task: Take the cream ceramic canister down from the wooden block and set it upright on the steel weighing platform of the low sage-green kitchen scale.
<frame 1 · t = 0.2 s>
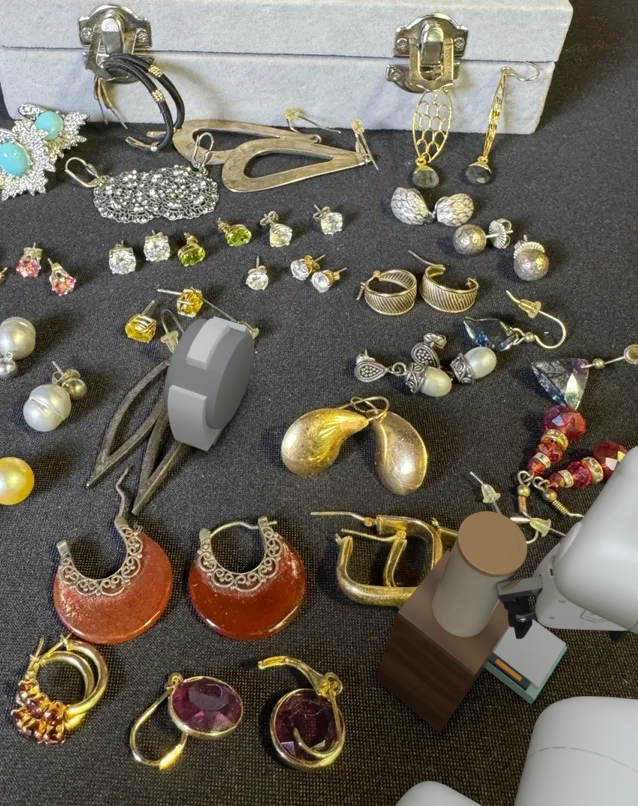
hand: (563, 626, 83), 28 cm above the table, tool pointing down, fingers open, 9 cm apart
wooden block: (428, 675, 106), on the table
scale: (517, 655, 108), on the table
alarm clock: (213, 416, 134), on the table
canister: (460, 608, 90), point 22 cm above the table, touching wooden block
beverage bottle: (573, 578, 115), on the table
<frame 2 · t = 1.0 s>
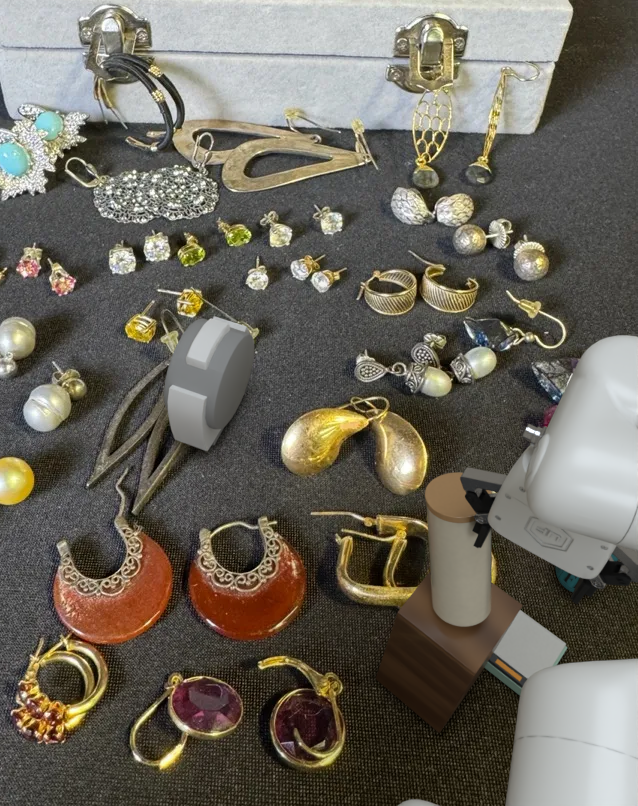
hand: (529, 562, 77), 38 cm above the table, tool pointing down, fingers open, 9 cm apart
canister: (461, 602, 89), point 23 cm above the table, tilted 20°, touching wooden block
everything else where it was.
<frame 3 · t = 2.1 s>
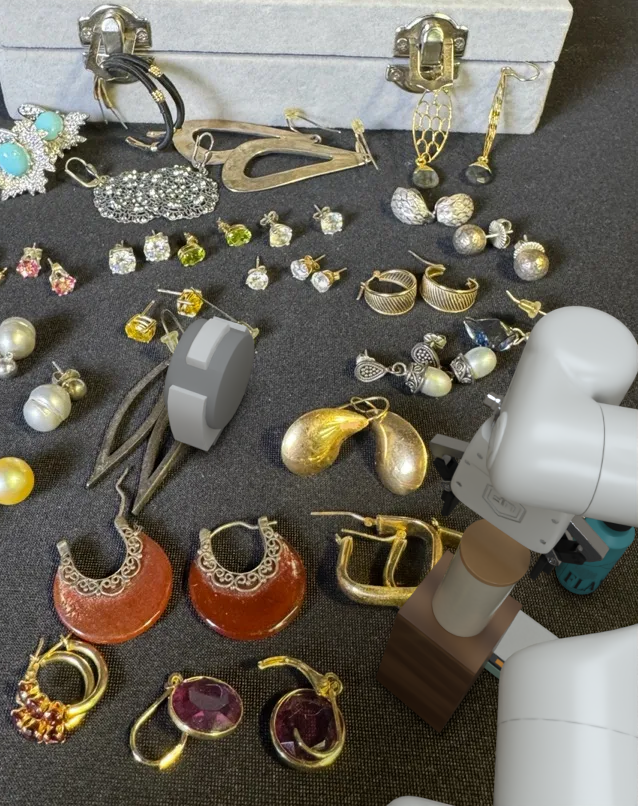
hand: (494, 535, 77), 39 cm above the table, tool pointing down, fingers open, 9 cm apart
canister: (461, 607, 89), point 22 cm above the table, touching wooden block
everything else where it was.
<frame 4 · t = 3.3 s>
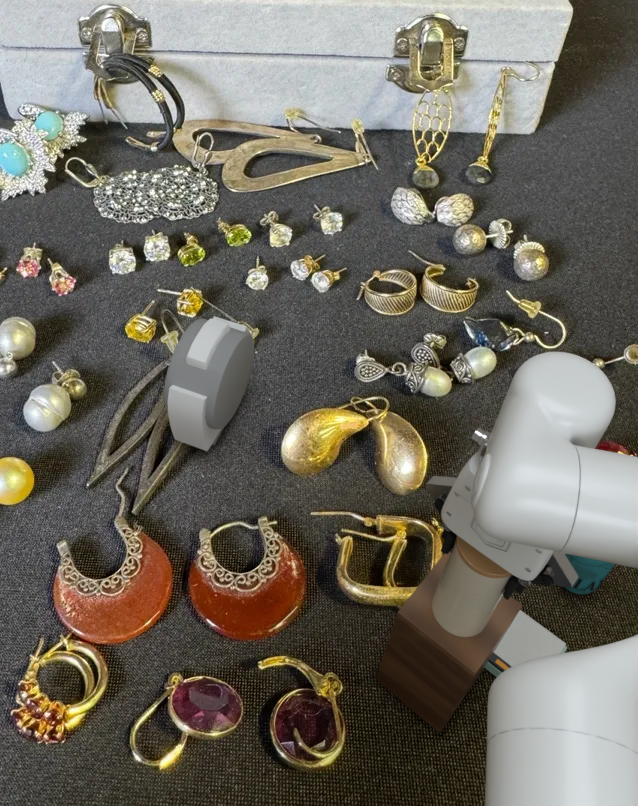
hand: (481, 564, 81), 33 cm above the table, tool pointing down, fingers closed on canister, 6 cm apart
canister: (460, 608, 90), point 22 cm above the table, touching gripper, wooden block
everything else where it was.
when the fingers open (14 cm above the table, at t = 10.9 s): canister stays where it is, resting on scale.
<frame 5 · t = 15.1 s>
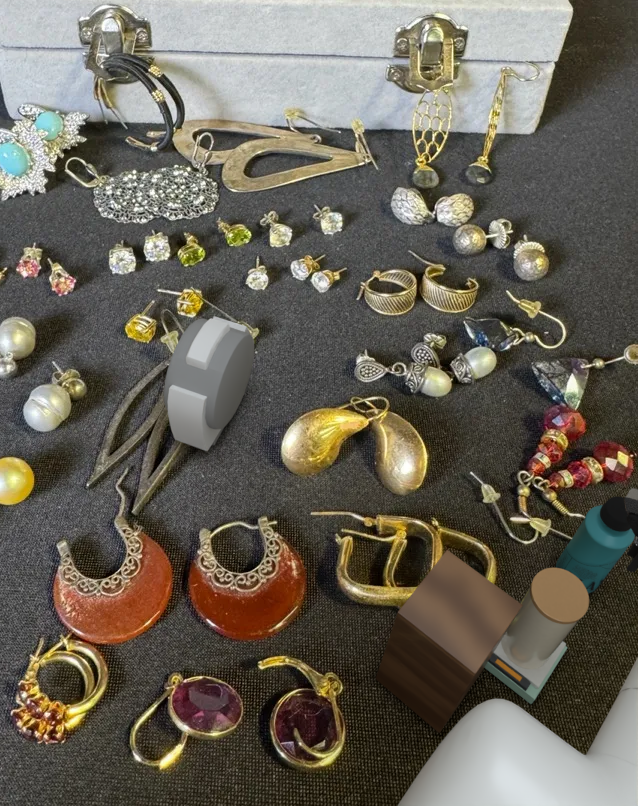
canister: (525, 644, 106), point 3 cm above the table, touching scale
everything else where it was.
at the end: canister 0.0 cm off-centre on the scale, point 2.8 cm above the scale's base; canister tilted 0°; the gripper is holding nothing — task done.
